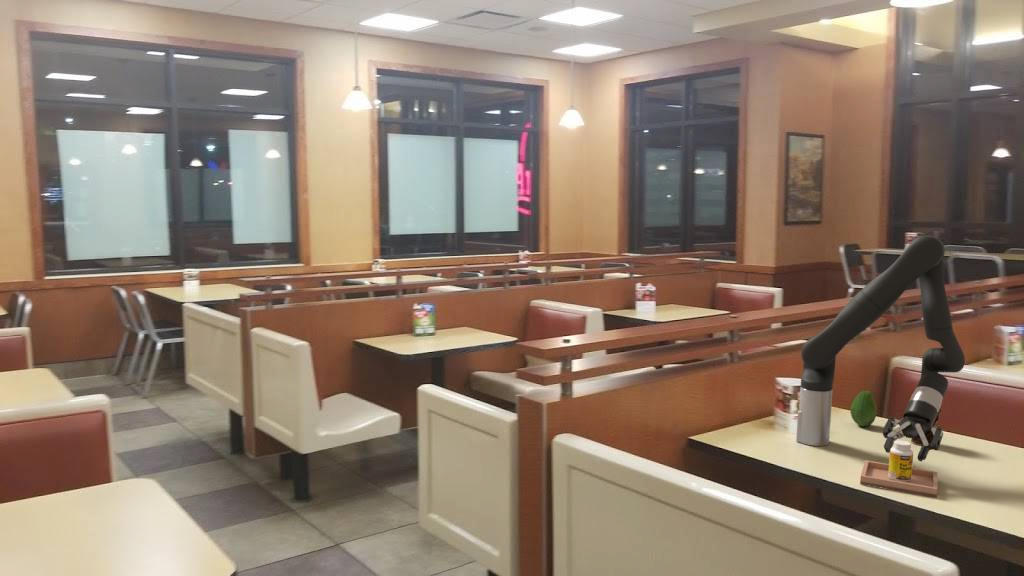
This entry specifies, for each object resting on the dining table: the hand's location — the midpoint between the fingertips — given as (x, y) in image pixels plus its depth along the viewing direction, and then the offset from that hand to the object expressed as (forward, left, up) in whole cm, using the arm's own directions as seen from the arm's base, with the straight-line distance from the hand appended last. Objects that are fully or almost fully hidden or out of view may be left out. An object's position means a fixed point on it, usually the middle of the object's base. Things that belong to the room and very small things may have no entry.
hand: (902, 455), depth 207 cm
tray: (0, -1, -7) cm, 7 cm away
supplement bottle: (0, -1, -6) cm, 7 cm away
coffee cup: (+5, +39, -7) cm, 40 cm away
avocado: (-13, +49, -7) cm, 51 cm away
